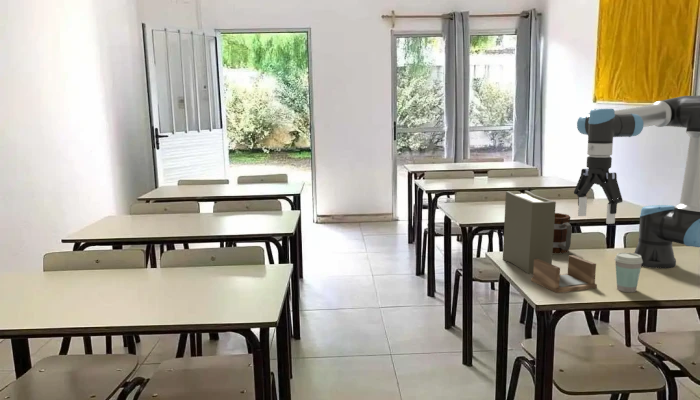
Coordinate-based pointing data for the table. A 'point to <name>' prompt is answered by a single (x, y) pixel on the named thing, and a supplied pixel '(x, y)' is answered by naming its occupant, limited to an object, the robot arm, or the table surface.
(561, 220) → the mug
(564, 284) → the holder
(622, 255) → the coffee cup
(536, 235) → the book
